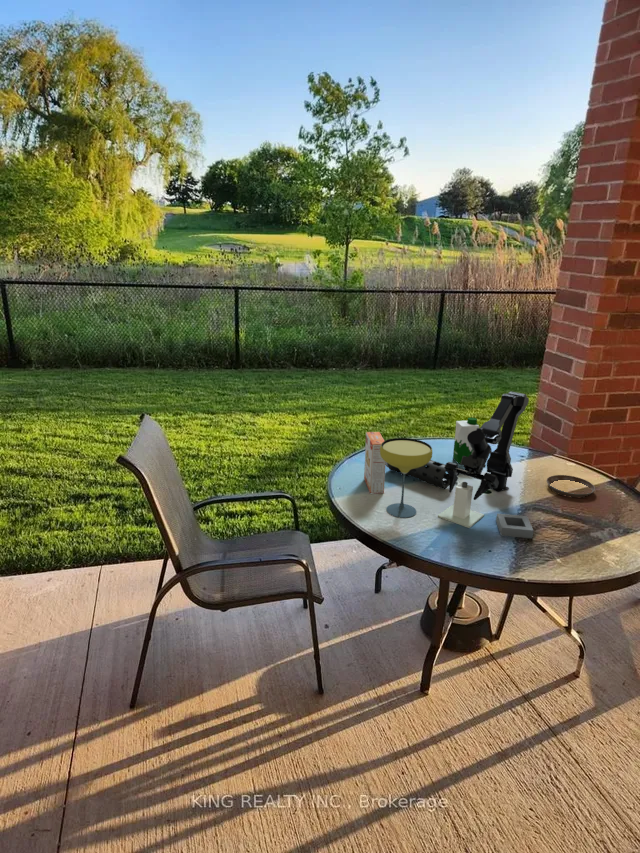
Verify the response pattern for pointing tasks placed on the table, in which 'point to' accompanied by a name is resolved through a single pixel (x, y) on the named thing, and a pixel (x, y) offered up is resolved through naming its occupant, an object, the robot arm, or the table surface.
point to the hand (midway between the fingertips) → (461, 495)
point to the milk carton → (463, 438)
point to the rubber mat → (465, 522)
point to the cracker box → (374, 463)
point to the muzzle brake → (428, 473)
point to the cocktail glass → (405, 465)
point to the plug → (462, 500)
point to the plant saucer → (571, 478)
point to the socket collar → (520, 528)
